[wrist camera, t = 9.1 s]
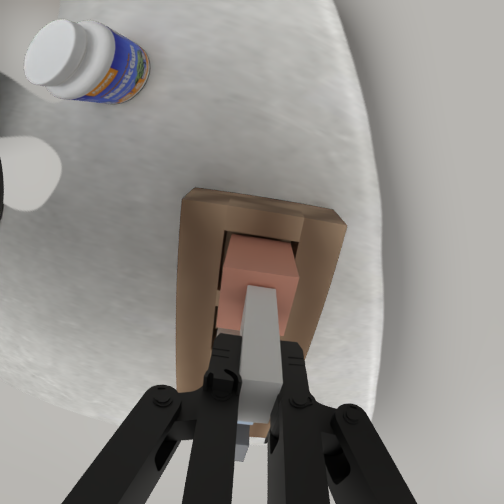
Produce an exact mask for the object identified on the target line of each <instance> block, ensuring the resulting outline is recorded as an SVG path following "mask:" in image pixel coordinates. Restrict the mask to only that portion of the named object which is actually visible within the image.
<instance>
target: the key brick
mask: <svg viewBox="0 0 504 504" xmlns="http://www.w3.org/2000/svg"><path fill="white" fill-rule="evenodd" d="M298 281H299V274H298V270H297V267H296V263H295V259H294V255H293V251H292V247H291V243H289V242H283V241H276V240H270V239H263V238H257V237H251V236H244V235H237V234H232V235H231V238H230V242H229V246H228V250H227V254H226V258H225V262H224V266H223V273H222V281H221V289H220V298H219V306H218V315H217V324H216V327H219V328H225V329H232V330H239V331H240V327H241V321H242V315H243V309H244V303H245V297H246V292H247V286H248V285H252V286H258V287H265V288H272V289H276V298H277V310H278V322H279V335H280V336H284V333H285V329H286V326H287V322H288V319H289V315H290V311H291V308H292V304H293V300H294V296H295V293H296V289H297V285H298Z"/></svg>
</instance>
